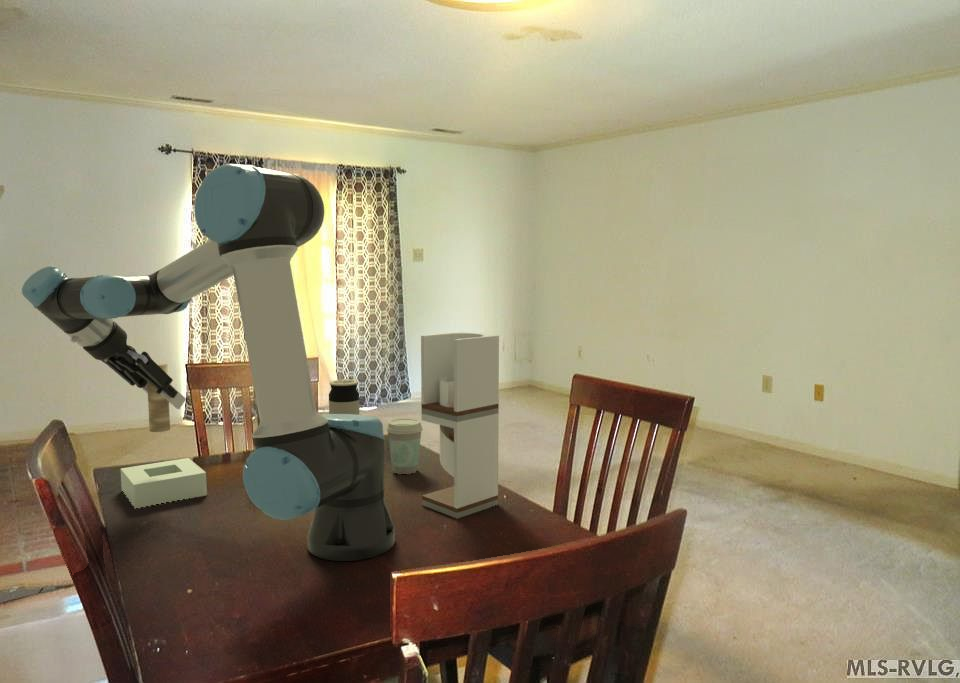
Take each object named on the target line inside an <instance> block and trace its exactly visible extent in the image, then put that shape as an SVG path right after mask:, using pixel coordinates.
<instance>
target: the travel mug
mask: <svg viewBox="0 0 960 683" xmlns="http://www.w3.org/2000/svg"><path fill="white" fill-rule="evenodd" d="M358 383H359V381H358V380H356V379H336V380H335V379H334V380H331V381H329V386H330V391H329V393H328V414H355V415H360V392H359V390H358V389H357V386H358Z"/></svg>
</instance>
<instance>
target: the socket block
mask: <svg viewBox="0 0 960 683" xmlns="http://www.w3.org/2000/svg"><path fill="white" fill-rule="evenodd" d="M120 482H121V486H120V487H121V492H122V491H123V492H124V493H123V492H122V493H123V495H124V494H125V495H126V496H125V495H124V496H125V497H126V499H127V498H128V499H129V500H128V499H127V500H128V501H129V503H130V502H131V503H130V504H131V506H132V507H133V506H134V507H133V508H134V510H137V509H136V508H138V509H142V508H141V507H143V508H147V507H146V506H148V507H152V506H151V505H154V506H157V505H156V504H159V505H162V504H161V503H164V504H167V503H166V502H169V503H173V502H172V501H175V502H178V501H177V500H180V501H184V500H183V499H185V500H190V499H194V498H195V497H196V498H200V497H205V496H207V495H208V489H207V488H208V487H207V484H208V483H207V472H206V471H205V470H204V469H202V468H201V467H200V466H199V465H198V464H197V463H195V462H194V461H193V460H192V459H190V458H189V457H186V458H180V459H174V460H167V461H161V462H154V463H147V464H141V465H140V464H139V465H134V466H129V467H122V468H120ZM189 498H190V499H189Z"/></svg>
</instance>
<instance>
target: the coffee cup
mask: <svg viewBox="0 0 960 683" xmlns="http://www.w3.org/2000/svg"><path fill="white" fill-rule="evenodd" d="M385 431H386V432H387V435H388V443H389V444H388V445H389V451H390V453H389V454H390V459H391V461H390V462H391V466H392V467H391V469H392V473H394V474H396V473H397V475H401V474H407V475H412V474H411V473H413V474H415V473H417V472H418V466H419V456H420V448H421V447H420V446H421V437H422V431H423V425H422V424H421V421H420V420H419V419H415V418H397V419H396V418H395V419H391V420H390V421H388V424H387V427H386V430H385ZM416 471H417V472H416Z"/></svg>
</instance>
